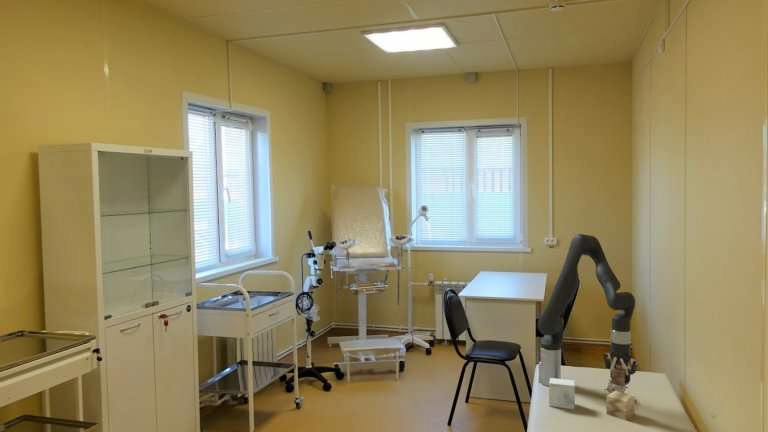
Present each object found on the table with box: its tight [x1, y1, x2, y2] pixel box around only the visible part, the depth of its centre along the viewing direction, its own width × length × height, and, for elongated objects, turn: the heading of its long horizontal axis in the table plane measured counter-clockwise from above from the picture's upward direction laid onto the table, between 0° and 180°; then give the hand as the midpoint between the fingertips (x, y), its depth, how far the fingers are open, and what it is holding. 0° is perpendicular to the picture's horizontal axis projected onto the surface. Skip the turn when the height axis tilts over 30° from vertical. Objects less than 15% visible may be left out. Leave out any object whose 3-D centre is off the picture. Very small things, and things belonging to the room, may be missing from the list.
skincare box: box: [548, 378, 576, 410], centre depth 238 cm, size 10×6×10 cm, turn 70°
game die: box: [604, 378, 629, 394], centre depth 246 cm, size 9×8×10 cm
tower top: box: [606, 391, 635, 411], centre depth 228 cm, size 8×8×4 cm
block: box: [610, 365, 630, 387], centre depth 227 cm, size 5×5×6 cm
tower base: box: [605, 405, 635, 421], centre depth 228 cm, size 8×8×4 cm
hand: (620, 381), depth 228 cm, fingers closed on block, 5 cm apart
